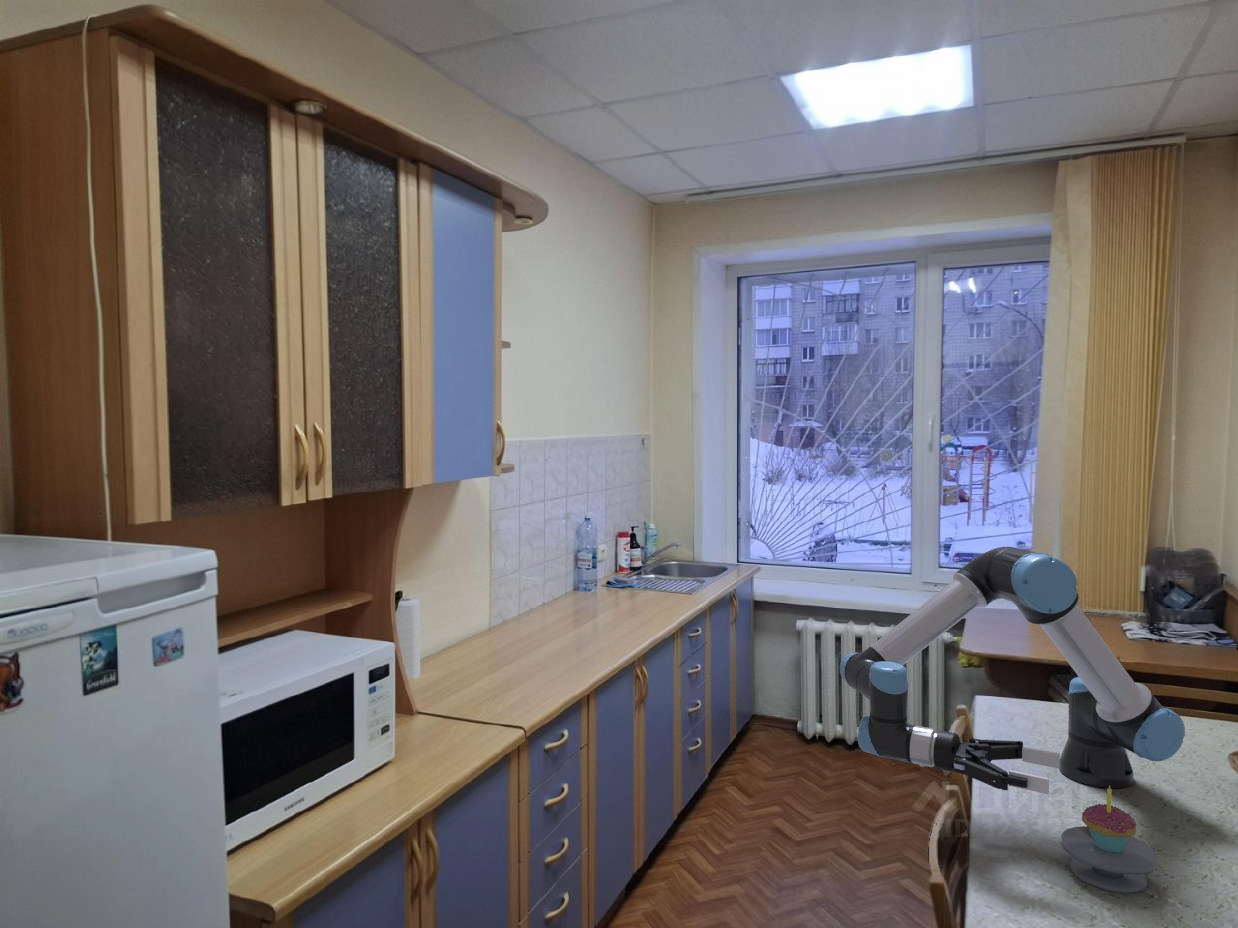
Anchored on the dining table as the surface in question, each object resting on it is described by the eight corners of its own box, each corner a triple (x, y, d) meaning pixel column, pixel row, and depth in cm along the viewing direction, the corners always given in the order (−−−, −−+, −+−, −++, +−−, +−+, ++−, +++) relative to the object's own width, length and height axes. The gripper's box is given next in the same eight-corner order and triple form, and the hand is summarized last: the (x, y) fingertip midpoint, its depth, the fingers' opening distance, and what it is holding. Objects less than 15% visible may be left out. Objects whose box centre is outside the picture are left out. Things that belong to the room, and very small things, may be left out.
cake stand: (1129, 856, 155) (1130, 828, 155) (1175, 900, 140) (1176, 870, 140) (1047, 851, 157) (1047, 824, 157) (1083, 895, 142) (1084, 865, 142)
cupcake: (1136, 862, 142) (1138, 795, 142) (1080, 849, 147) (1082, 784, 146) (1135, 841, 150) (1136, 777, 149) (1082, 830, 154) (1083, 767, 154)
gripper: (952, 747, 176) (1063, 770, 163) (919, 789, 155) (1043, 818, 143) (952, 713, 175) (1063, 733, 163) (919, 750, 155) (1043, 776, 143)
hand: (1054, 773), depth 153 cm, fingers open, 13 cm apart
